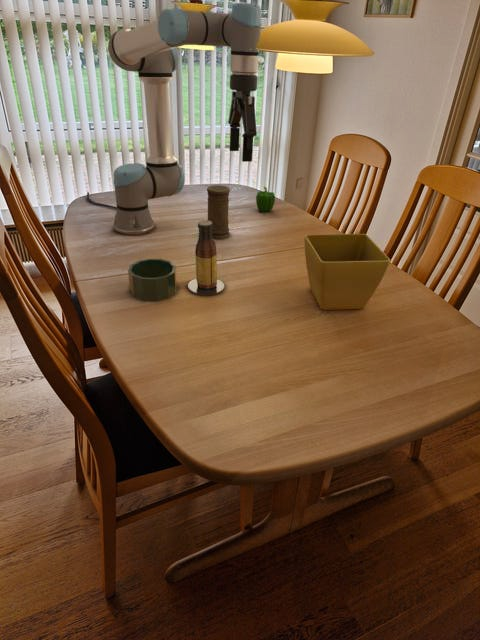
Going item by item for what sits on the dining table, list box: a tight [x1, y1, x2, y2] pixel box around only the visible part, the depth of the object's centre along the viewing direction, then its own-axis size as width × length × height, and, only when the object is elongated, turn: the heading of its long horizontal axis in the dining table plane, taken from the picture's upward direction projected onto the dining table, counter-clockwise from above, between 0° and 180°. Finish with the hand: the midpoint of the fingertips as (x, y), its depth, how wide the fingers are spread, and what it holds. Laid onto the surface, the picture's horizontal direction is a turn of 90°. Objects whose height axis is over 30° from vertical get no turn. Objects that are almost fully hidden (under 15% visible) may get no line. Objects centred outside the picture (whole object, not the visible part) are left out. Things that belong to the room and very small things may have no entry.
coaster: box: [187, 278, 225, 297], centre depth 133 cm, size 11×11×1 cm
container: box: [206, 184, 231, 240], centre depth 164 cm, size 9×9×18 cm
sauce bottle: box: [194, 219, 218, 289], centre depth 128 cm, size 7×6×20 cm
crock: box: [127, 258, 178, 302], centre depth 128 cm, size 13×13×7 cm
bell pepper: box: [255, 186, 276, 213], centre depth 193 cm, size 8×8×10 cm
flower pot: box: [304, 233, 391, 311], centre depth 126 cm, size 19×19×17 cm
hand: (240, 156), depth 130 cm, fingers open, 13 cm apart
